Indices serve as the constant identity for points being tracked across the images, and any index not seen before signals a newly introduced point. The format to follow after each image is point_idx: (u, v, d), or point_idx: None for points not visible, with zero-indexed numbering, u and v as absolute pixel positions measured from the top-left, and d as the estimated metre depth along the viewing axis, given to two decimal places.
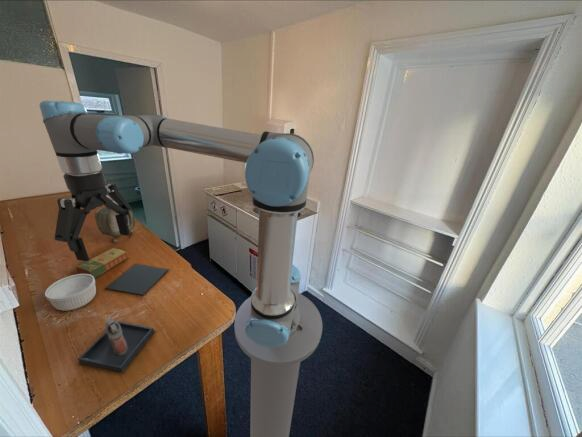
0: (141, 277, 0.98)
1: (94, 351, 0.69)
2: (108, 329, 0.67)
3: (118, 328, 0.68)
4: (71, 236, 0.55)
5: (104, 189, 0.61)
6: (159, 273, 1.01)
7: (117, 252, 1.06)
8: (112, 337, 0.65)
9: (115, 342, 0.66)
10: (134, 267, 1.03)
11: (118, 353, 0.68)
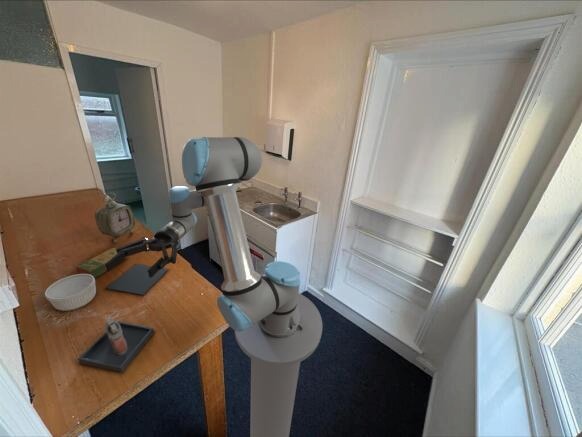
0: (141, 277, 0.98)
1: (94, 351, 0.69)
2: (108, 329, 0.67)
3: (118, 328, 0.68)
4: None
5: (168, 241, 0.83)
6: (159, 273, 1.01)
7: None
8: (112, 337, 0.65)
9: (115, 342, 0.66)
10: (134, 267, 1.03)
11: (118, 353, 0.68)
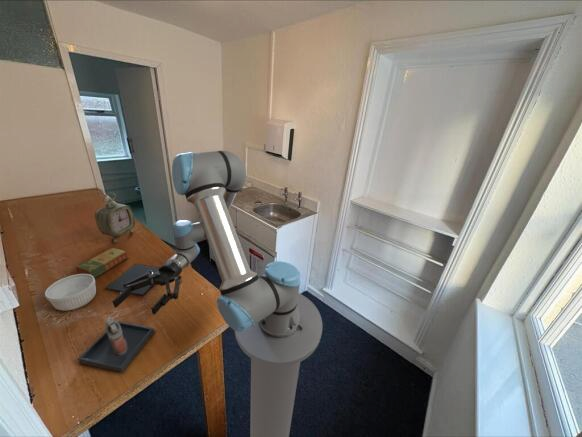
0: None
1: (94, 351, 0.69)
2: (108, 329, 0.67)
3: (118, 328, 0.68)
4: None
5: (172, 275, 0.88)
6: None
7: (117, 251, 1.06)
8: (112, 337, 0.65)
9: (115, 342, 0.66)
10: (134, 267, 1.03)
11: (118, 353, 0.68)
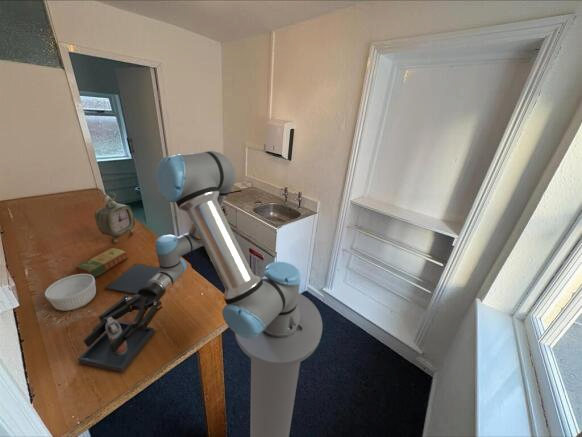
0: (141, 277, 0.98)
1: (94, 351, 0.69)
2: (108, 329, 0.67)
3: (118, 328, 0.68)
4: None
5: (153, 298, 0.79)
6: None
7: (117, 251, 1.06)
8: (112, 337, 0.65)
9: None
10: (134, 267, 1.03)
11: (118, 353, 0.68)
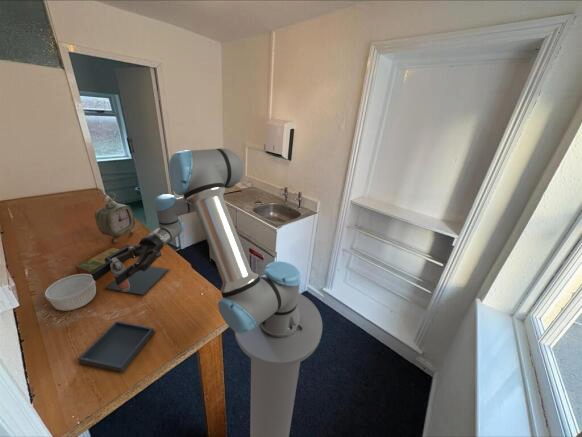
0: (141, 277, 0.98)
1: (94, 351, 0.69)
2: (113, 267, 0.75)
3: (122, 267, 0.75)
4: None
5: (153, 247, 0.86)
6: (159, 273, 1.01)
7: None
8: (116, 273, 0.73)
9: None
10: None
11: (122, 289, 0.75)
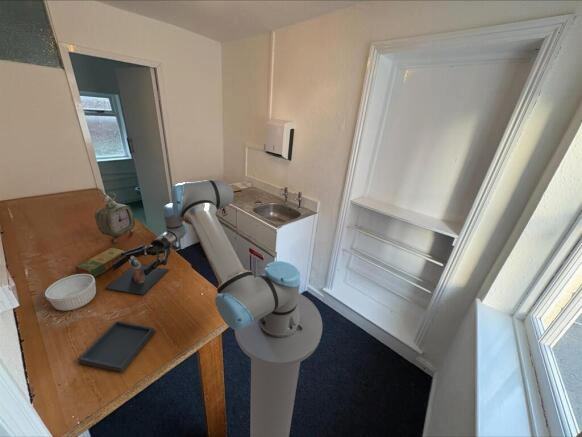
0: None
1: (94, 351, 0.69)
2: (131, 264, 0.94)
3: (138, 263, 0.94)
4: None
5: (162, 247, 1.05)
6: (159, 273, 1.01)
7: (116, 251, 1.07)
8: (134, 268, 0.92)
9: (136, 272, 0.93)
10: None
11: (138, 281, 0.94)
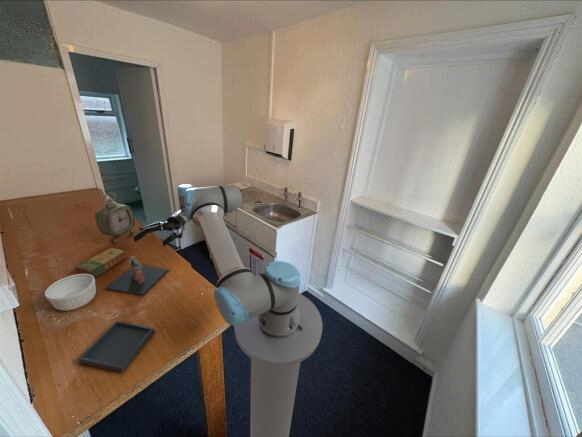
0: None
1: (94, 351, 0.69)
2: (131, 264, 0.94)
3: (138, 263, 0.94)
4: None
5: (177, 223, 1.13)
6: (159, 273, 1.01)
7: (116, 251, 1.07)
8: (134, 268, 0.92)
9: (136, 272, 0.93)
10: None
11: (138, 281, 0.94)
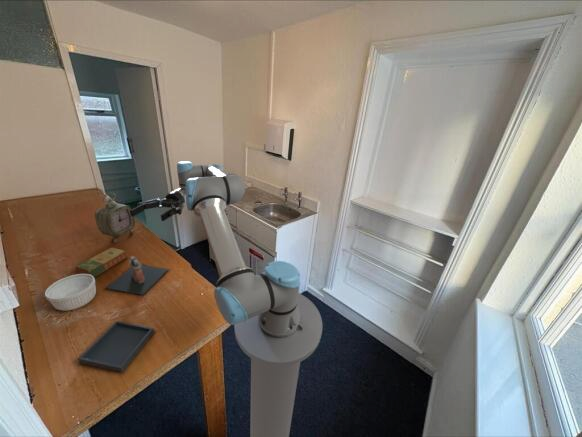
0: None
1: (94, 351, 0.69)
2: (131, 264, 0.94)
3: (138, 263, 0.94)
4: None
5: (176, 200, 1.08)
6: (159, 273, 1.01)
7: (116, 251, 1.07)
8: (134, 268, 0.92)
9: (136, 272, 0.93)
10: None
11: (138, 281, 0.94)
